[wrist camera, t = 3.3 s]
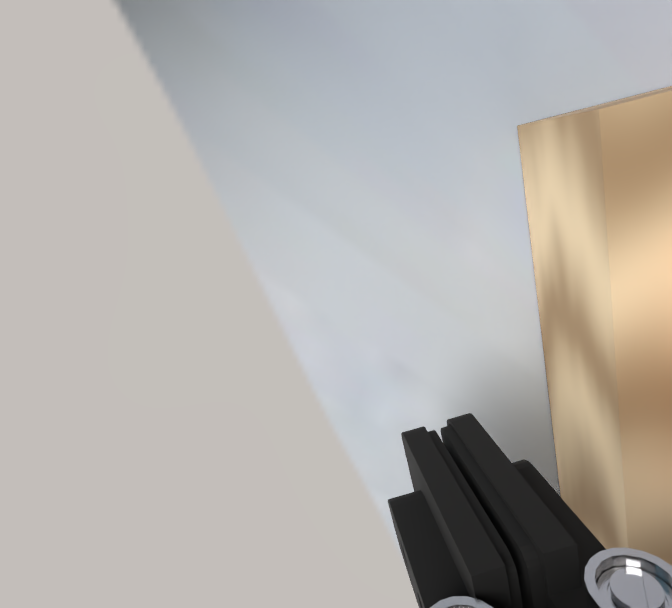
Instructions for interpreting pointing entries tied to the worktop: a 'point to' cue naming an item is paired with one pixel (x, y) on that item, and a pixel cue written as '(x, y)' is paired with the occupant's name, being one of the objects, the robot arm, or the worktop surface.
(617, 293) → the oak board
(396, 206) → the worktop surface
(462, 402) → the worktop surface
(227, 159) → the worktop surface
